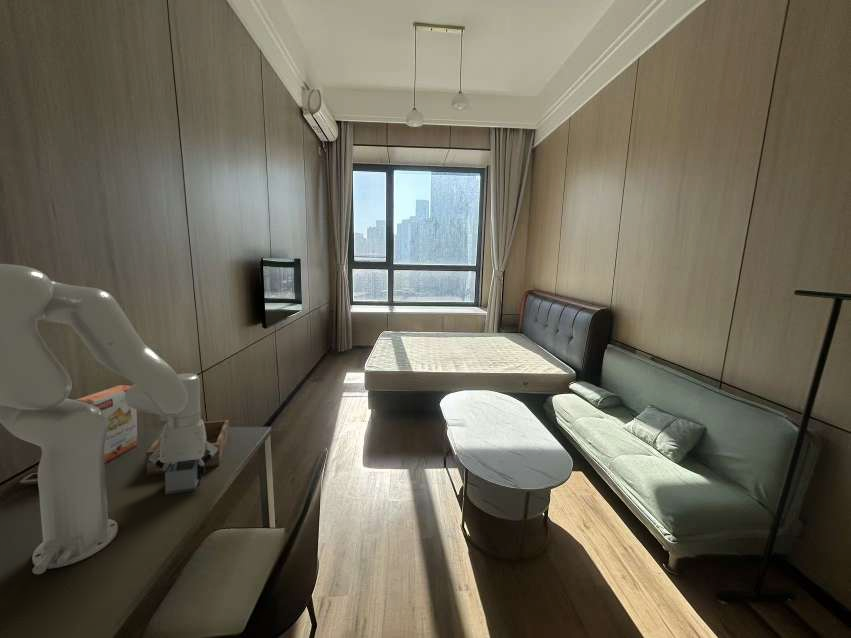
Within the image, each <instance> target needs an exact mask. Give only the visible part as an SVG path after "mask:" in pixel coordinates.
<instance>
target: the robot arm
mask: <svg viewBox="0 0 851 638" xmlns="http://www.w3.org/2000/svg"><path fill="white" fill-rule="evenodd" d="M121 307H122V306H120V305H119V303H118V301H117V300H116V299H115V298H114V296H112V294H110V293H109V292H108V291H105V290H103V289H101V288H96V287H88V286H81V285H71V284H67V283H66V284H65V283H62V282H58V281H53V280H51V279H50V278H49V277H48V276H47V275H46V274H45V273H43V272H42V271H41V270H38V269H37V268H33V267H29V266H25V265H20V264H19V265H18V264H9V263H8V264H7V263H0V424H1V425H2V427H4V428H5V429H6V430H7V431H8V432H10V434H12V435H13V436H14V437H16V438H18V439H19V440H22V441H24V442H28V443H30V444H34V445H36V446H38V447H40V449H41V457H40V460H39V463H38V467H37V468H38V469H37V486H38V495H39V508H40V519H41V520H40V521H41V533H42V542H41V543H39V545H38V546H37V547H36V548H35V550H34V551H33V553H32V559H31V560H32V564H33V565H34V567H33V568H32V573H33V574H35V575H41V574H44V573H45V571H46V570H47V569H48V570H49V569H57V568H63V567H66V566H69V565H73V564H76V563H78V562H80V561H83V560H85V559H87V558H89V557H91V556H93V555H94V554H97V553H98V552H99V551H101V550H102V549H104V548H105V547H107V545H109V544H110V543H111V542H112V541H113V540H114V539H115V537H116V536H117V533H118V532H119V525H118V523H117V522H116V520H114V519H111V518H109V516H108V500H107V499H108V498H107V482H106V480H107V479H106V478H107V477H106V466H105V464H106V463H105V462H104V448H105V440H106V435H107V430H108V420H107V417H106V415H105V414H104V413H103V411H101V410H100V409H99V408H97V407H95V406H93V405H91V404H88V403H84V402H80V401H76V399H72V398H68V397H69V395H70V394H71V392H72V389H73V381H72V378H71V377H70V374H69V372H68V371H67V370H66V369H65V368H64V366H63V365H62V364H61V363H60V361H59V360H58V359H57V357H56V356H55V355H54V353H53V352H52V351H51V348H49V347H48V346H47V344H46V341H44V339H43V337H42V336H41V334H40V332H39V329H38V321H39V320H40V321H47V322H51V323H58V324H63V325H69V326H70V327H71V328H72V329H73V330H74V332H75V333H76V335H77V336H78V337H79V338H80V339H81V341H82V343H84V345H85V346H86V347H87V349H88V350H89V352H90V353H91V354H92V355H93V356H94V358H95V359H96V361H97V362H98V363H99V364H101V365H102V366H103V367H105V368H107V369H108V370H110V371H112V372H113V373H116V374H117V375H120V376H122V377H123V378H125V379H127V380H129V381H130V382H132V383H133V384H132V385H130V386H131V387H130V388H129V389H128V390H127V391H126V393H125V402H126V404H127V405H128V406H130V407H131V408H133V409H136V410H137V411H141V412H144V413H145V412H146V413H150V414H154V415H157V416H160V419H159V421H160V422H164V423H165V424H164V425H163V426H162V429H161V430H162V431H161V433H162V435H161V443H160V448H159V449H158V450H157V451H156V452H155V453H153V454H152V455H151V456H150V458H149V460H150V461H152V462H153V463H155V464H156V466H158V467H160V468H161V469H162V471H164V473H163V480H164V481H165V473H166V471H167V470H168V468H169V466H170V465H171V463H175V462H183V461H190V460H197V462H198V463H199V465H198V480H199V481H200V480H202V477H203V475H205V473H206V467H205V463H206V462H207V461H208V460H209V459H210V458H211V457H212V456H213V455H214V454H215V453H216V452H217V450H218V448H217V447H215V446H214V445H212V444H211V443H209V442H207V438H206V430H205V425H204V422H205V421H204V420H203V419H201V378H200V376H199V375H197V374H196V373H190V372H189V373H188V372H187V373H179V374H177V372H176V371H175V370H174V369H173V368H172V366H171V365H170V364H168V363H167V362H166V361H165V360H164V359H163V358H162V357H160V356H159V355H158V354H157V353H156V352H155V351H154V350H152V348H151V347H149V346H148V345H147V344H145V343H144V341H143V340H142V339H141V336H140V335H139V334H138V332H137V331H136V329H135V328H134V326H133V325H132V323H131V322H130V320H129V318H128V317H127V316H126V313H125V312H124V310H123V309H122V308H121ZM206 449H207V450H209V451H210V452H209V453H208V454H207V455H206V456H205V455H204V454H205V450H206ZM159 455H160V458H159V457H158V456H159Z"/></svg>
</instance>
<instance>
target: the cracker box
mask: <svg viewBox="0 0 851 638" xmlns="http://www.w3.org/2000/svg"><path fill="white" fill-rule="evenodd" d="M131 386H132V385H123V384H120V385H115V386H113V387H110V388H108V389H107V388H106V389H103V390H101V391H98V392H95V393H92V394H89V395H86V396H82V397H79V398H77V399H75V400H76V401H80V402H84V403H88V404H91V405H93V406H95V407H97V408H99V409H100V410H101V411H103V413H104V414H105V415H106V417H107V420H108V430H107V435H106V440H105V448H104V462H105V464H106V463H107V462H110V461H111V460H114V459H115V458H116V457H119V456H121V455H123V454H124V453H125V452H128V451H129V450H131V449H133V448H135V447H137V446H138V418H137V417H138V416H137V413H138V412H137V411H138V410H136V409H133V408H131V407H130V406H128V405H127V404H126V402H125V393H126V391H127V390H128V389H129V388H130V387H131Z"/></svg>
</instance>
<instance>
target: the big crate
mask: <svg viewBox="0 0 851 638" xmlns="http://www.w3.org/2000/svg"><path fill="white" fill-rule="evenodd" d="M203 422H204V425H205V430H206V438H207V442H209V443H211V444H212V445H214V446H215V447H217V448H218V450H217V452H216V453H215V454H214V455H213V456H212V457H211V458H210V459H209V460H208V461H207V462H206V463H205V468H209V467H216V466H217V465H218V466H220V465H219V464H221V461H222V459H223V456H224V454H225V451H226V448H227V445H226V444H228V442H229V440H228V439H229V438H230V420H229V419H224V420H223V419H222V420H212V421H203ZM161 435H162V432H161V433H160V434H159V435H158V437H157V438H156V440H155V441H154V442H153V443H152V444H151V446H150V447H149V448H148V449H147V450H146V452H145V455H146V458H145V459H146V475H147V476H150V475H151V476H152V475H157V474H158V475H159V474H164V471H162V469H161V468H160V467H158V466H156V464H155V463H153V462H152V461H150V460H149V458H150V456H151V455H152V454H153V453H155V452H156V451H157V450H158V449H159V448H160V443H161ZM227 441H228V442H227ZM225 447H226V448H225ZM224 450H225V451H224ZM209 452H210V451H209V450H207V449H206V450H205V454H204V455H205V456H206V455H207V454H208V453H209ZM223 453H224V454H223ZM158 457H159V458H160V455H159V456H158ZM208 466H209V467H208Z"/></svg>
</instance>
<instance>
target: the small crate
mask: <svg viewBox="0 0 851 638" xmlns="http://www.w3.org/2000/svg"><path fill="white" fill-rule="evenodd" d="M198 465H199V463H198V462H197V460H190V461H183V462H175V463H171V465H170V466H169V468H168V470H167V471H166V473H165V480H164V487H165V488H164V491H165V496H166V495H173V494H179V493H185V492H192V491H196V489H197V486H198V484H199V482H200V480H198Z"/></svg>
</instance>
